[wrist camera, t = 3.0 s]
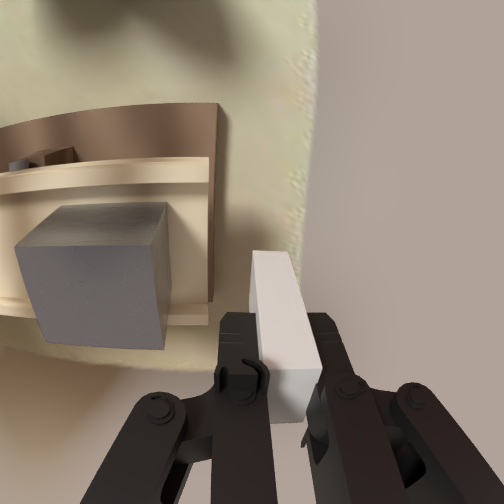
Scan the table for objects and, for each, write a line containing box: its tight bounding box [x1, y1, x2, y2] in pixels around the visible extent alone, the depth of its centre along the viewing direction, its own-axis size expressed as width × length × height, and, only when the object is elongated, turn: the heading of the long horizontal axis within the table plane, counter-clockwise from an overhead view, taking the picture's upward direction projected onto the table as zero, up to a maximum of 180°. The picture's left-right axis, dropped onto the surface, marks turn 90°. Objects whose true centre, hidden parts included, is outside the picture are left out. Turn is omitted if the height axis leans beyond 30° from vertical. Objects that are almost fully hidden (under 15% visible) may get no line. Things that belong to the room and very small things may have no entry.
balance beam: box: [0, 157, 209, 325], centre depth 14 cm, size 24×10×4 cm, turn 87°
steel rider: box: [14, 201, 172, 350], centre depth 13 cm, size 6×5×5 cm
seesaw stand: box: [0, 103, 219, 302], centre depth 19 cm, size 24×15×5 cm, turn 86°
